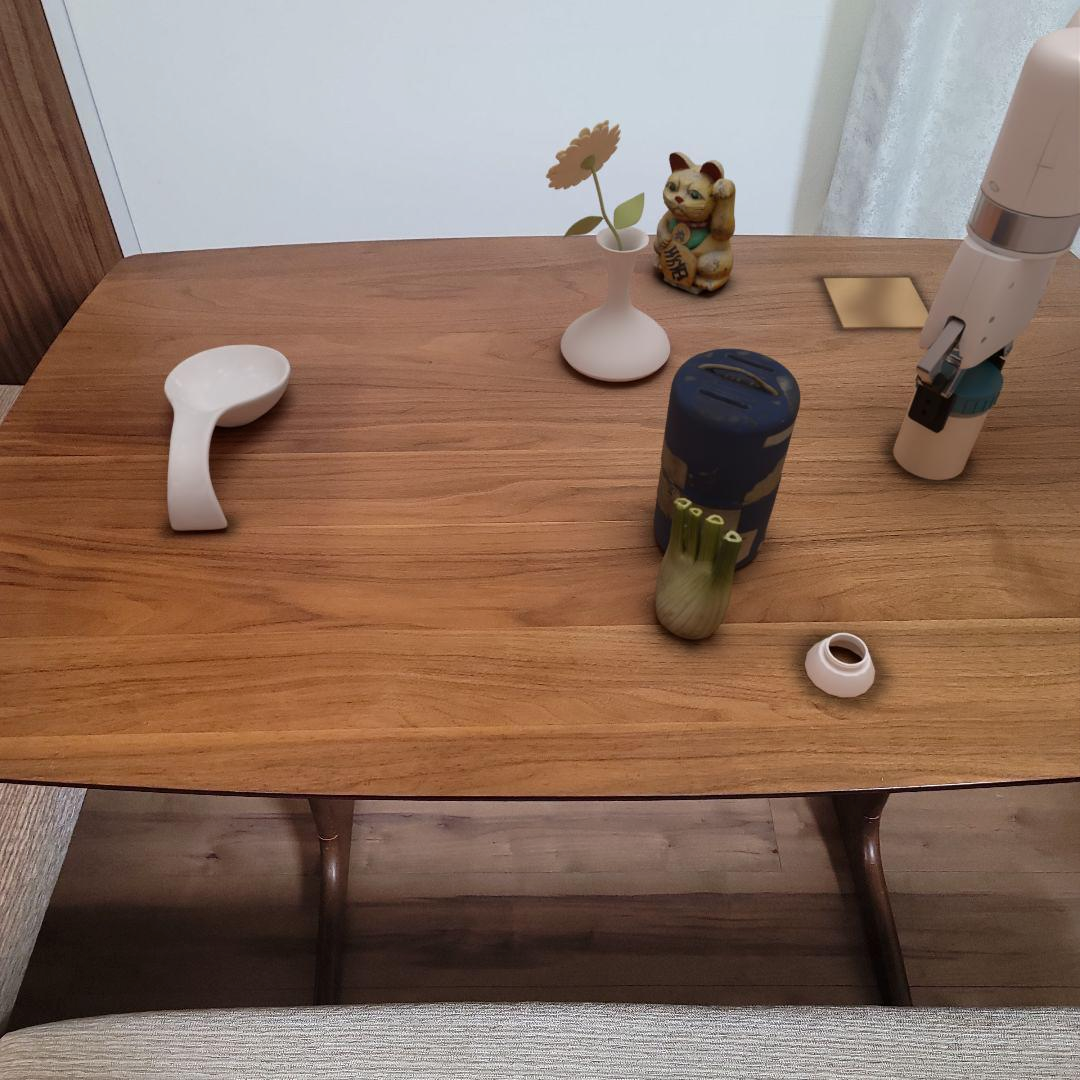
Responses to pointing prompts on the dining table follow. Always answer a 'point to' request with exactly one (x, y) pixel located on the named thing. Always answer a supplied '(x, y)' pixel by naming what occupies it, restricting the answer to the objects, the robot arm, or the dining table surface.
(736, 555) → the fennel bulb
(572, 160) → the flower in vase
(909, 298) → the coaster
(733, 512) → the canister
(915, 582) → the dining table surface
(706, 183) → the decorative figurine
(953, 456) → the jar
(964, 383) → the lid
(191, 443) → the spoon rest
